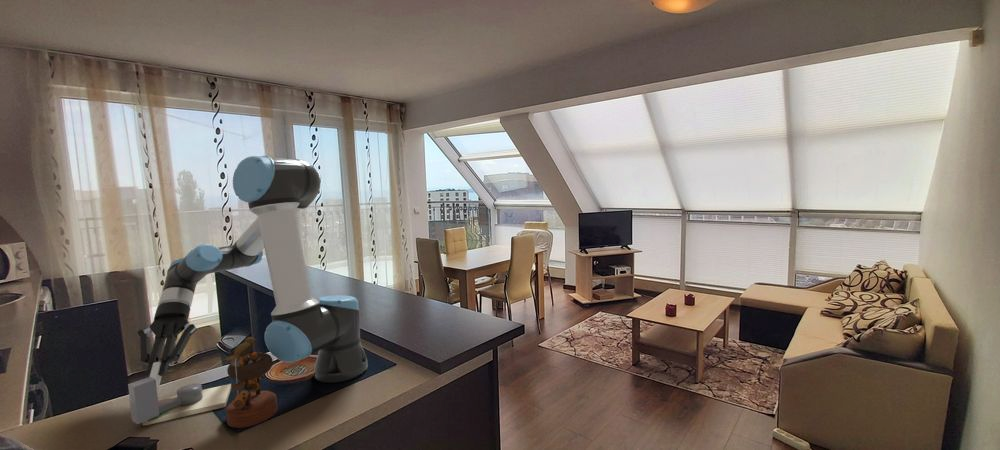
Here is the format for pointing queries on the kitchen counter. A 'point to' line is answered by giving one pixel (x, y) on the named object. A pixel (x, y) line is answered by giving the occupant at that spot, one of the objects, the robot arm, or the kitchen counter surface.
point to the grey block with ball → (147, 399)
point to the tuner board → (194, 404)
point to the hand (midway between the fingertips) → (152, 388)
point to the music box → (249, 386)
